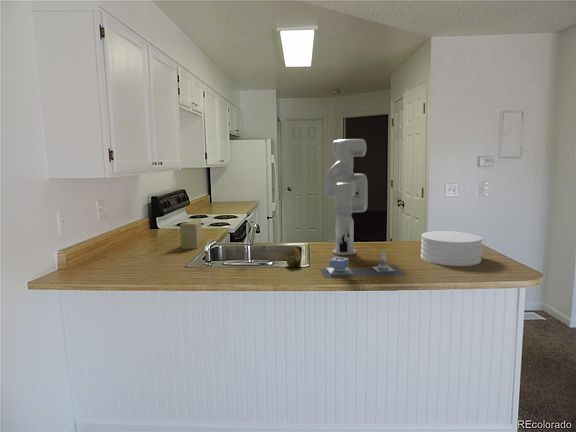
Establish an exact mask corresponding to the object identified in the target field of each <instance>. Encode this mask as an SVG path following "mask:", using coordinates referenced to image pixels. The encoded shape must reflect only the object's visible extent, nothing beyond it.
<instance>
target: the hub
mask: <svg viewBox="0 0 576 432" xmlns="http://www.w3.org/2000/svg"><path fill="white" fill-rule="evenodd" d="M337 260H342V259H337ZM349 268H350V267H349V266H348V267H346V268H345V269H336V268H330V267H326V270H327V271H328V273H329V274H330V276H343V275H353V272H352V271H351V270H350V269H349Z"/></svg>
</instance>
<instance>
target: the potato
mask: <svg viewBox="0 0 576 432" xmlns="http://www.w3.org/2000/svg"><path fill="white" fill-rule="evenodd" d="M285 260H286V264H287V266H288V267H289V268H291V269H298V268H299V267H301V263H302V254H301V252H300V250H299V249H298V248H295V247H291V248H289V249H288V250H286V253H285Z"/></svg>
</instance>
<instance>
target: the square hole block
mask: <svg viewBox="0 0 576 432" xmlns="http://www.w3.org/2000/svg"><path fill="white" fill-rule="evenodd" d="M337 259H342V260H337ZM346 267H348V268H349V267H350V258H349V257H340V256H334V257H333V258H331V259H330V260H329V268H336V269H345V268H346Z"/></svg>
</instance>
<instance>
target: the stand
mask: <svg viewBox="0 0 576 432" xmlns="http://www.w3.org/2000/svg"><path fill="white" fill-rule="evenodd" d="M386 255H387V254H386V252H381V253H380V263H379V264H378V265H377V266H371V267H372V269H373V270H374V271H375V272H376V273H395V270H393V269H392V268H391V267H392V266H390V265H389V264H387V262H386V260H387V258H386V257H387V256H386Z"/></svg>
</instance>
